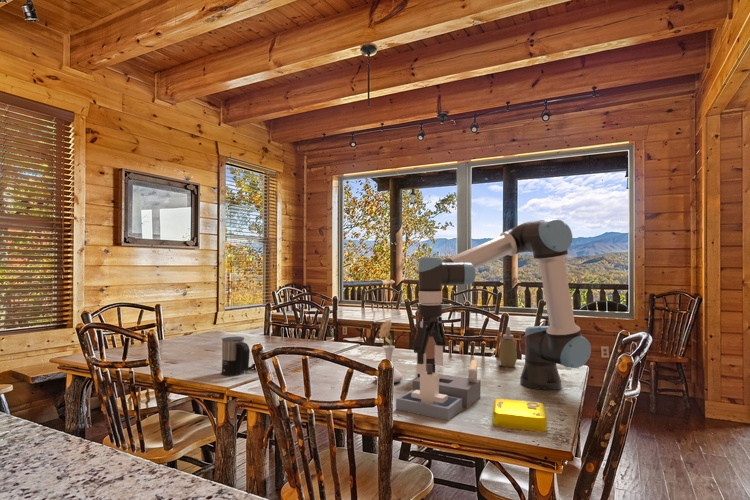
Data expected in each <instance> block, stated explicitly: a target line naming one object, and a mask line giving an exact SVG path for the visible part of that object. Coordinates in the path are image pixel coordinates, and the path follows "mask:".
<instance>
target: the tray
mask: <svg viewBox="0 0 750 500" xmlns="http://www.w3.org/2000/svg"><path fill="white" fill-rule="evenodd" d="M413 391H415V390H412V389H411V390H409V391H408V392H405V393H404V394H402V395H400V396H398V397H396V399H395V410H396V409H399V410H398V411H401V410H404V411H403V412H406V411H409V412H408V413H411V412H413V413H412V414H415V413H418V414H417V415H420V414H422V416H425V415H426V417H430V418H434V417H435V418H434V419H438V420H439V419H440V420H444V421H450V420H451V419H453V418H454V417H455V416H456V415H457V414H458V413H459V412H461V411H462V410H463V407H462V398H457V397H451V396H448V400H447V401H445V402H444V403H440V402H437V405H432V404H427V403H422V402H421V399H418V398H413V397H411V393H412V392H413Z"/></svg>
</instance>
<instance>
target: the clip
mask: <svg viewBox="0 0 750 500" xmlns="http://www.w3.org/2000/svg"><path fill="white" fill-rule="evenodd" d="M467 378H468V381H469V382H471V383H476V382H477V380H478V360H477V359H471V362H470V368H468V377H467Z"/></svg>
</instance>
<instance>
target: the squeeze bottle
mask: <svg viewBox="0 0 750 500" xmlns="http://www.w3.org/2000/svg"><path fill="white" fill-rule="evenodd" d="M499 345H500V347H499V355H498V357H499V358H498V359H499V362H500V365H501V366H502V367H505V368H514V367H515V366H516V363H517V360H518V355H517V345H516V340H515V339H514V335H513V334H512V332H511V328H510V327H509V326H507V327H506V331H505V334H502V339H501V340H500V344H499Z"/></svg>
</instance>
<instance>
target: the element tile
mask: <svg viewBox="0 0 750 500" xmlns="http://www.w3.org/2000/svg"><path fill="white" fill-rule="evenodd" d="M493 402H494V403H493V408H492V425H493V426H495V427H497V428H498V427H499V428H505V429H506V428H507V429H515V430H523V431H531V432H539V433H541V432H543V433H544V431H545V432H547V431H546V430H547V429H548V428H547V427H548V424H547V423H548V417H547V412H546V409H545V404H543V403H541V402H537V401H528V400H517V399H509V398H508V399H506V398H496V399H494V401H493Z"/></svg>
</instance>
